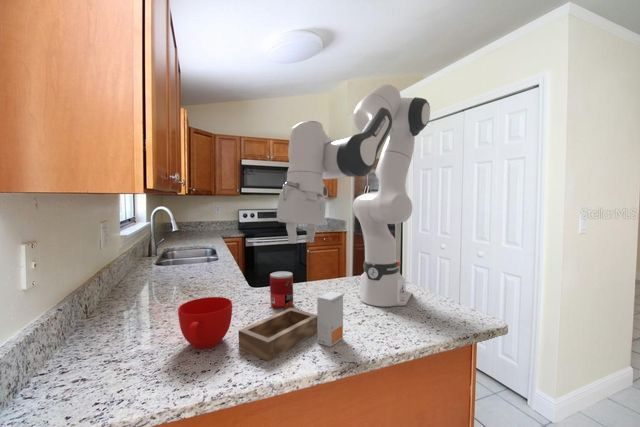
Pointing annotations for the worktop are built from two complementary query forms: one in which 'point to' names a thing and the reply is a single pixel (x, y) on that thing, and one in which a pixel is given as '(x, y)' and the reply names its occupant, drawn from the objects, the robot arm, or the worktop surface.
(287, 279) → the canned food
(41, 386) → the worktop surface
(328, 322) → the skincare box
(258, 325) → the brown hollow rectangular tray
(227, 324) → the ceramic cup
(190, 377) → the worktop surface
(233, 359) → the worktop surface
